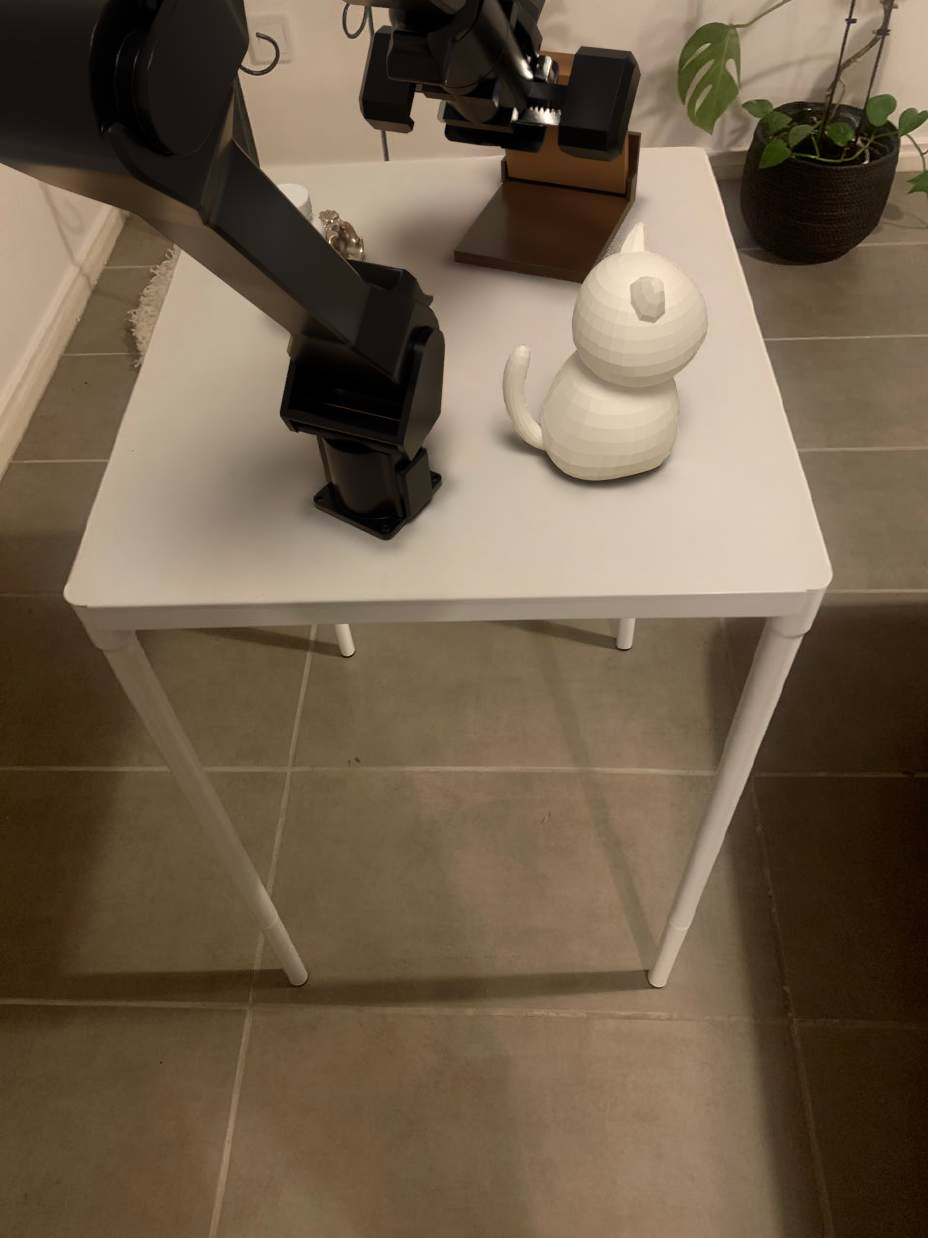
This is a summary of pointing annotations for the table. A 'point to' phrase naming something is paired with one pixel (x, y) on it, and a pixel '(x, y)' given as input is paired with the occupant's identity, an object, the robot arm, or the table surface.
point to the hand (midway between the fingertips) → (524, 140)
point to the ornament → (342, 235)
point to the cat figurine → (616, 367)
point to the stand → (548, 225)
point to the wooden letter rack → (565, 167)
